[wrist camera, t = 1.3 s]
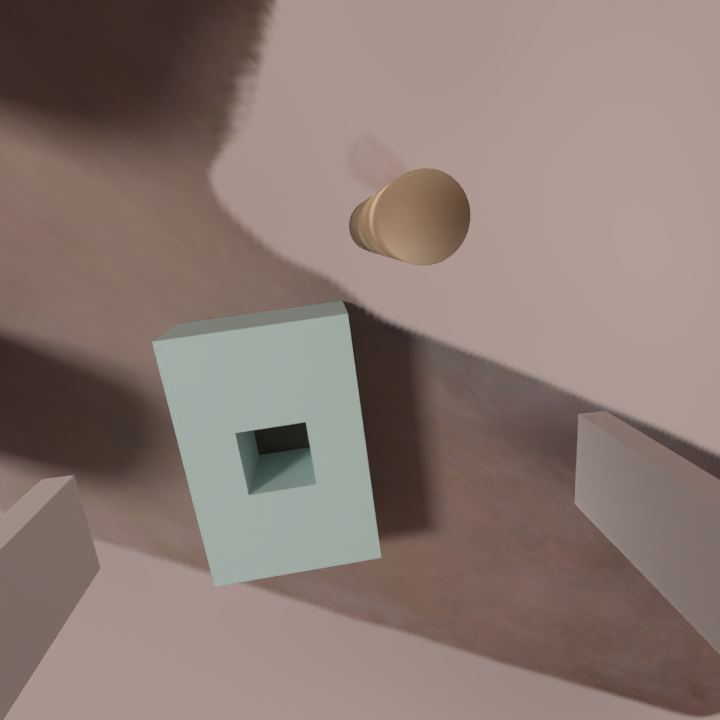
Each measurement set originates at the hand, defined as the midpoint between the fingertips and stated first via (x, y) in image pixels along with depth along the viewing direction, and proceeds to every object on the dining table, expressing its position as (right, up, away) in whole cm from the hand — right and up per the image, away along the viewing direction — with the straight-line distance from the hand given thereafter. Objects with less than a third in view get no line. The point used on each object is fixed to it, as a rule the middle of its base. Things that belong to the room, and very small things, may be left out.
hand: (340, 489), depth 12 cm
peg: (+2, +13, +21) cm, 25 cm away
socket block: (-6, -2, +24) cm, 25 cm away
